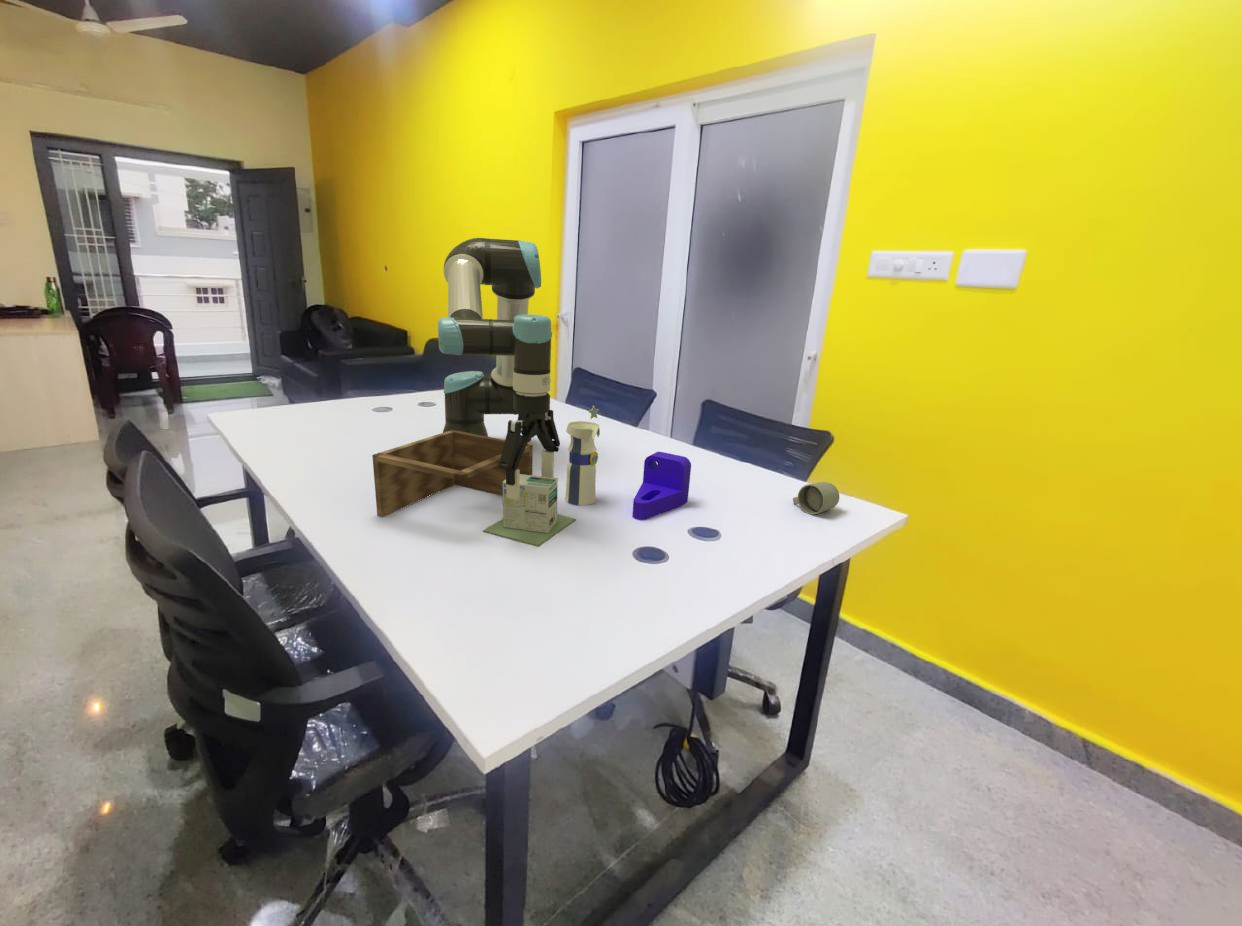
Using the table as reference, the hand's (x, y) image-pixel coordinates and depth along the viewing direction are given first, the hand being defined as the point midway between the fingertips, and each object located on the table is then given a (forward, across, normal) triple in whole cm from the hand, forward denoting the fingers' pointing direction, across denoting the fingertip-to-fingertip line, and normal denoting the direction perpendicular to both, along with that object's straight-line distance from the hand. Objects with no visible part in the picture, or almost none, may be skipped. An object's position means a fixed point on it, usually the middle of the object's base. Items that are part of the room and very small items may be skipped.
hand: (530, 488), depth 126 cm
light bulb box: (+9, -1, 0) cm, 9 cm away
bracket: (+9, +24, -20) cm, 33 cm away
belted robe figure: (+9, +20, -2) cm, 22 cm away
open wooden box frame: (+9, 0, +20) cm, 22 cm away
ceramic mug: (+9, +45, -55) cm, 72 cm away
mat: (+9, 0, 0) cm, 9 cm away
